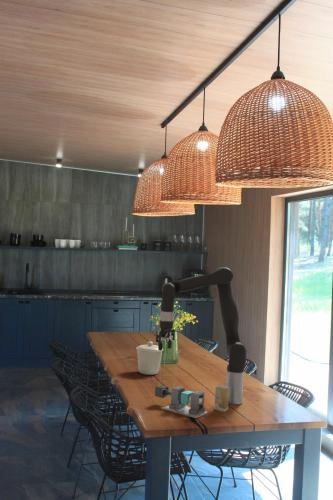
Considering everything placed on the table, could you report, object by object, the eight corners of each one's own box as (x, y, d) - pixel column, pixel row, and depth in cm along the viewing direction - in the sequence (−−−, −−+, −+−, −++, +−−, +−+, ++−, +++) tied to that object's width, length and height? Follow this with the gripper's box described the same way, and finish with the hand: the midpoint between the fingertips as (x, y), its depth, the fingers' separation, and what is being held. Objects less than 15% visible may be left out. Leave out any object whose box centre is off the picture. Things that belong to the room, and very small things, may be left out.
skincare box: (213, 409, 266) (215, 386, 266) (217, 407, 269) (219, 384, 269) (224, 412, 262) (226, 388, 262) (228, 410, 266) (229, 386, 266)
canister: (161, 377, 328) (163, 344, 328) (133, 375, 329) (135, 343, 329) (162, 370, 346) (164, 340, 346) (136, 369, 347) (137, 338, 347)
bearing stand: (175, 404, 270) (176, 383, 270) (207, 413, 258) (208, 391, 259) (163, 409, 261) (164, 387, 261) (195, 418, 250) (197, 395, 250)
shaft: (154, 395, 269) (155, 386, 269) (160, 394, 273) (160, 384, 273) (198, 407, 252) (199, 397, 252) (204, 405, 256) (204, 395, 256)
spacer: (187, 401, 263) (187, 390, 263) (193, 402, 261) (194, 391, 261) (180, 403, 258) (181, 392, 258) (187, 405, 256) (187, 394, 256)
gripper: (168, 317, 285) (166, 346, 285) (153, 319, 274) (151, 349, 274) (179, 319, 281) (177, 348, 281) (164, 321, 269) (162, 352, 269)
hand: (164, 349), depth 277 cm, fingers open, 8 cm apart
